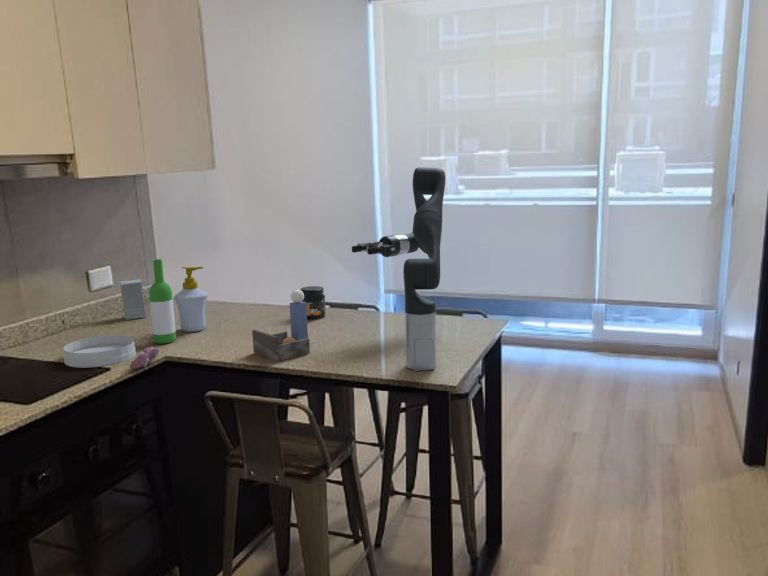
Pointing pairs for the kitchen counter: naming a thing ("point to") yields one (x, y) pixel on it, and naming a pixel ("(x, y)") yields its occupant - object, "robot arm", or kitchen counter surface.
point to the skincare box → (133, 299)
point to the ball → (288, 340)
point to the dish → (99, 351)
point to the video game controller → (145, 358)
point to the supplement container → (314, 301)
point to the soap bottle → (191, 304)
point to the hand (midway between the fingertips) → (360, 250)
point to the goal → (278, 346)
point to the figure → (298, 316)
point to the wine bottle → (161, 307)
